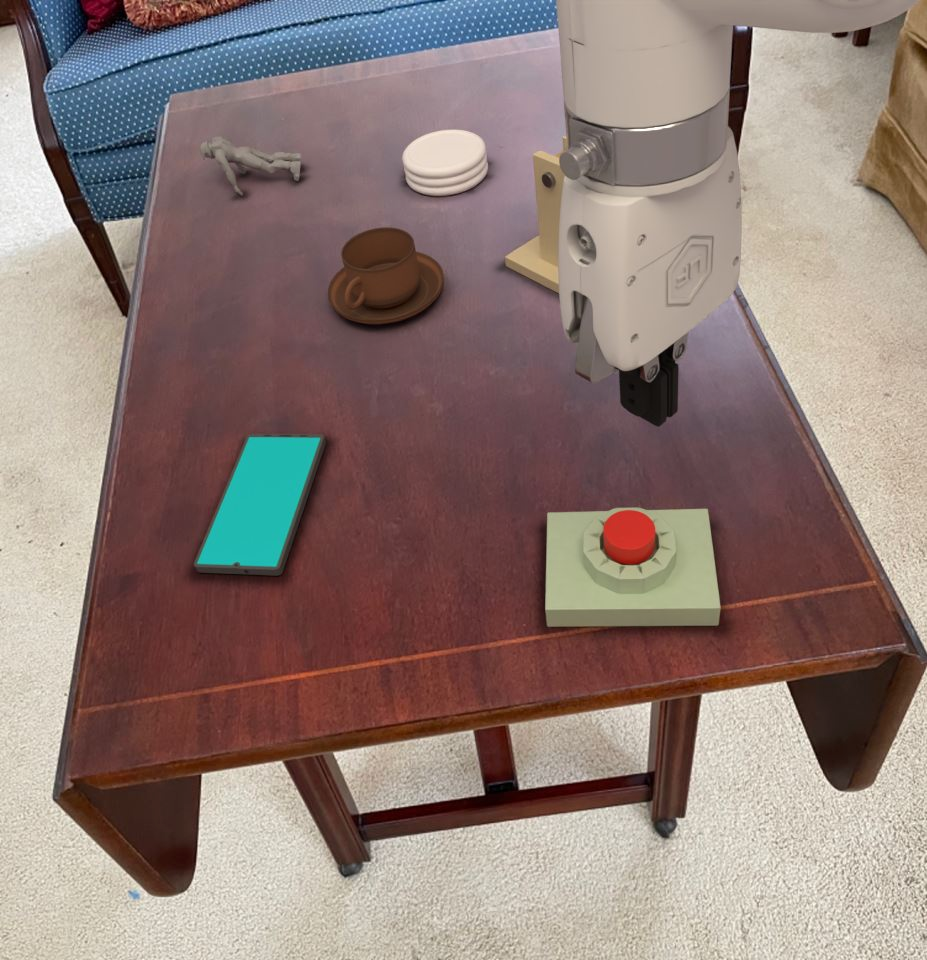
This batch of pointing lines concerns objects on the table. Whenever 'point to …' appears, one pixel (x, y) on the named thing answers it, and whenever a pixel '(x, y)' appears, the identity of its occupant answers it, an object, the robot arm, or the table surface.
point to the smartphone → (261, 505)
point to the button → (629, 537)
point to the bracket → (543, 224)
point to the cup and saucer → (384, 278)
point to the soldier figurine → (248, 159)
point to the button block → (631, 573)
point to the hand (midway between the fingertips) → (648, 409)
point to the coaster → (445, 162)
